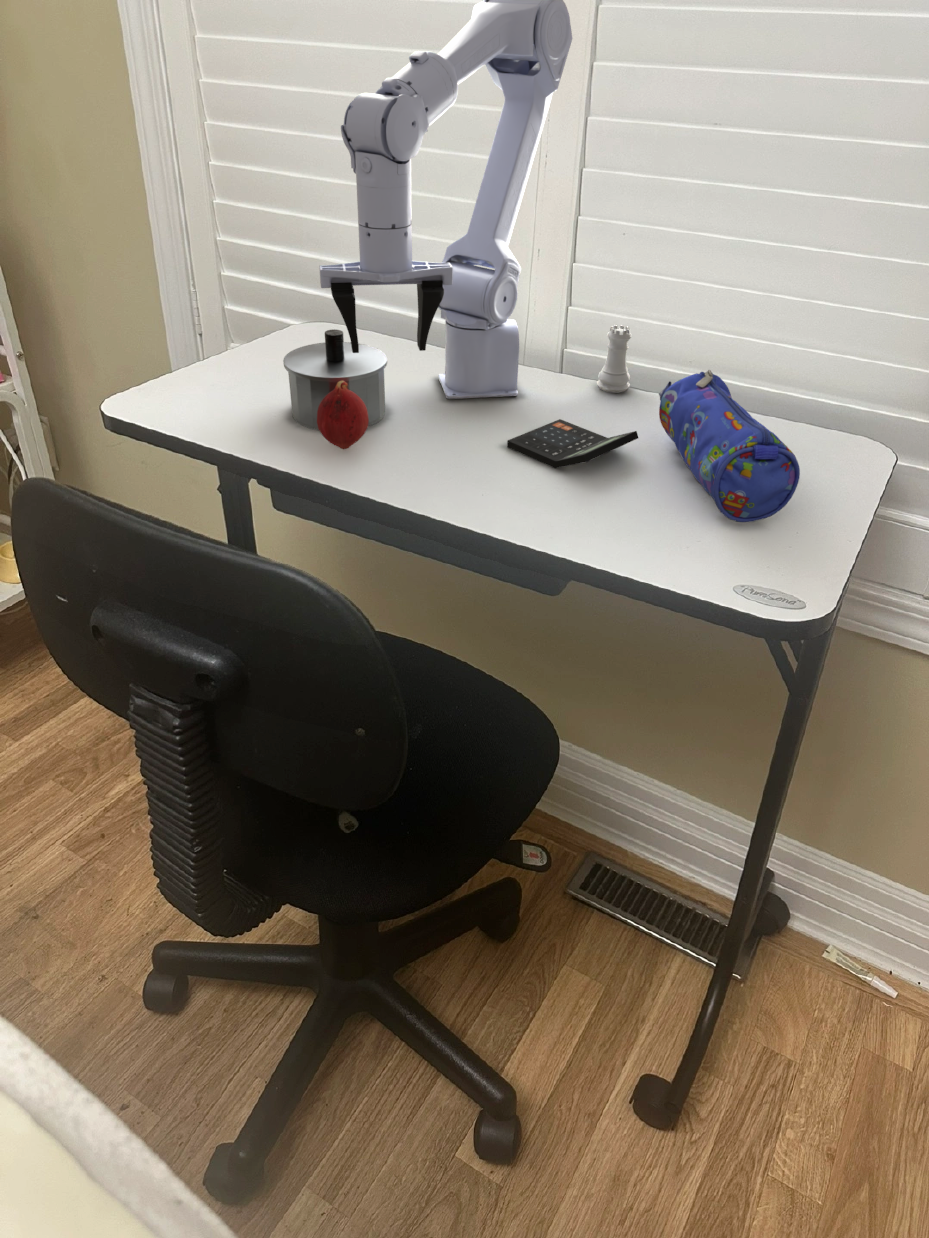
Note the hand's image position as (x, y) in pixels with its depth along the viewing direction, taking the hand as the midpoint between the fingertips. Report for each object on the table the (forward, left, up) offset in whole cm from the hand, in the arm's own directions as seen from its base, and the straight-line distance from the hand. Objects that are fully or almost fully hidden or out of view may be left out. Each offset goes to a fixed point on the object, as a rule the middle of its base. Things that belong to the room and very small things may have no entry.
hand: (388, 349), depth 104 cm
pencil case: (-34, +19, -10) cm, 40 cm away
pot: (+6, -4, -9) cm, 12 cm away
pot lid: (+6, -4, -3) cm, 8 cm away
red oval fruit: (+6, +6, -10) cm, 13 cm away
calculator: (-20, +10, -10) cm, 24 cm away
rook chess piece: (-31, -9, -10) cm, 34 cm away
